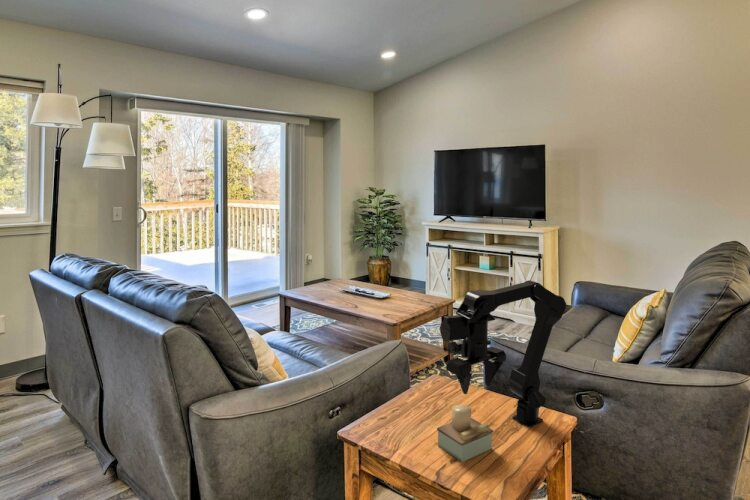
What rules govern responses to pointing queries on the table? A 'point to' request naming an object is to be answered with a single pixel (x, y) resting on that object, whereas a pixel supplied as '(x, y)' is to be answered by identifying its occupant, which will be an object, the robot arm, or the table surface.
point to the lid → (465, 432)
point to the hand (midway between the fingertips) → (476, 389)
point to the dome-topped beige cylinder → (461, 417)
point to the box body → (465, 446)
